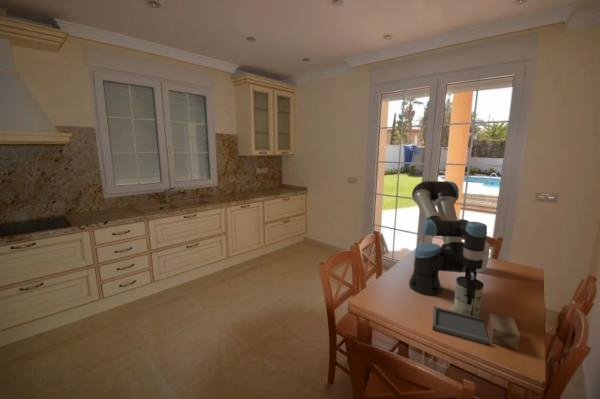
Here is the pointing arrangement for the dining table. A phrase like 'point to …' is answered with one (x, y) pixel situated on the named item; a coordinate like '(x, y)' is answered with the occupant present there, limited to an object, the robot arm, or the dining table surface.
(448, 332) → the tray mat
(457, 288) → the coffee can
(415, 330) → the dining table surface
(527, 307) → the dining table surface
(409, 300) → the dining table surface
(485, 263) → the bottle
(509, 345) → the ledge block
